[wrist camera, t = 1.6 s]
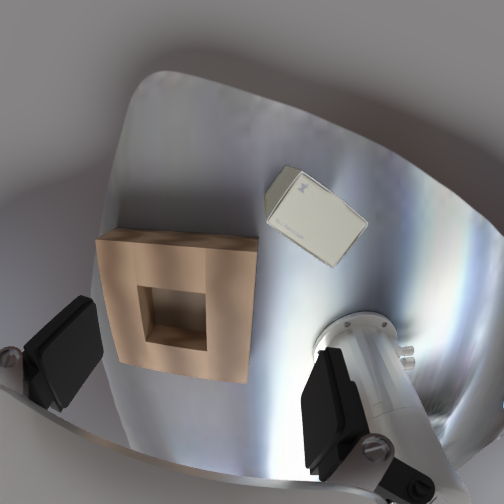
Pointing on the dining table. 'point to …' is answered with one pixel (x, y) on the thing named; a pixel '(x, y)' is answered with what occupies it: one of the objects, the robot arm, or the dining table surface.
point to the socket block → (180, 300)
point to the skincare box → (312, 216)
